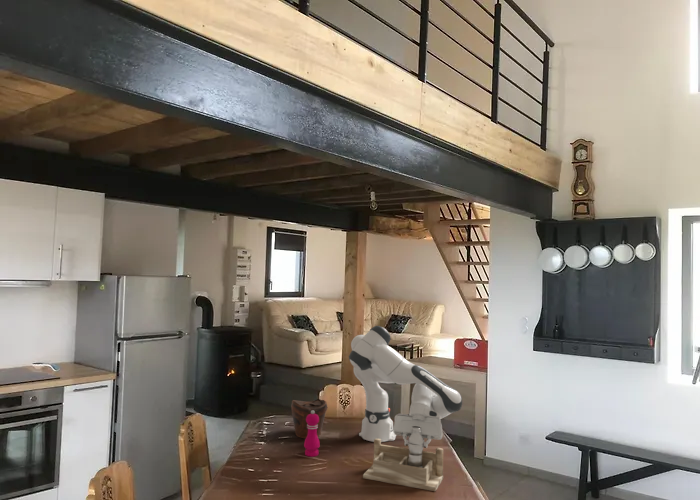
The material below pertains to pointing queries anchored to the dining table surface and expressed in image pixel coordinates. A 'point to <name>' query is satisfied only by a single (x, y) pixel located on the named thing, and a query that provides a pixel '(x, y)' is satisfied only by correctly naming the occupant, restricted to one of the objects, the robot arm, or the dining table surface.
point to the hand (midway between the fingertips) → (415, 446)
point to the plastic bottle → (415, 447)
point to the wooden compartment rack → (405, 467)
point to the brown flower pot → (303, 409)
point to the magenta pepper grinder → (312, 435)
